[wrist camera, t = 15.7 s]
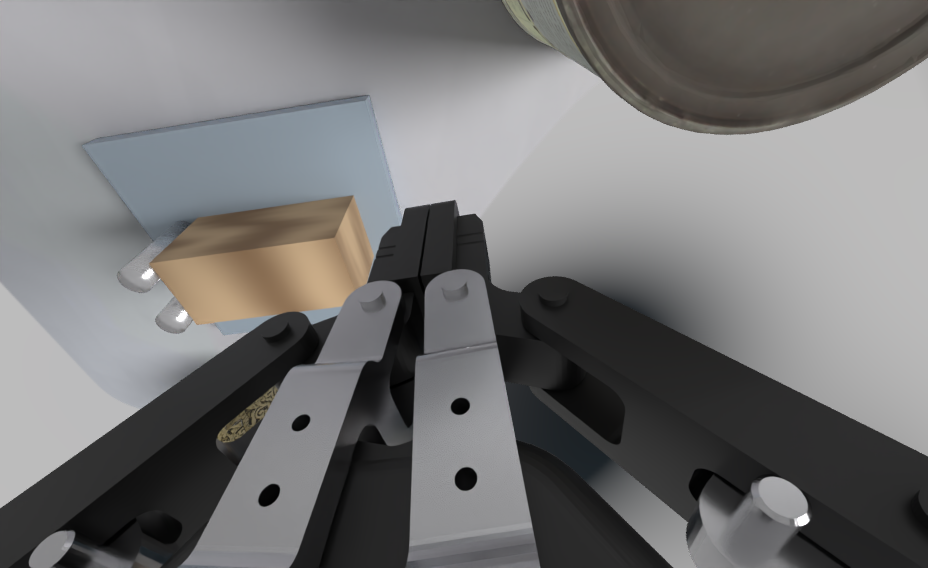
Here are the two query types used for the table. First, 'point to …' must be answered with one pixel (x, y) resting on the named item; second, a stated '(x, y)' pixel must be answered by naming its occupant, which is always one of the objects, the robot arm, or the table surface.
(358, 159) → the base board
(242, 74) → the table surface
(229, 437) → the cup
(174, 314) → the dowel pins
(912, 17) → the coffee can
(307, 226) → the flange bar
